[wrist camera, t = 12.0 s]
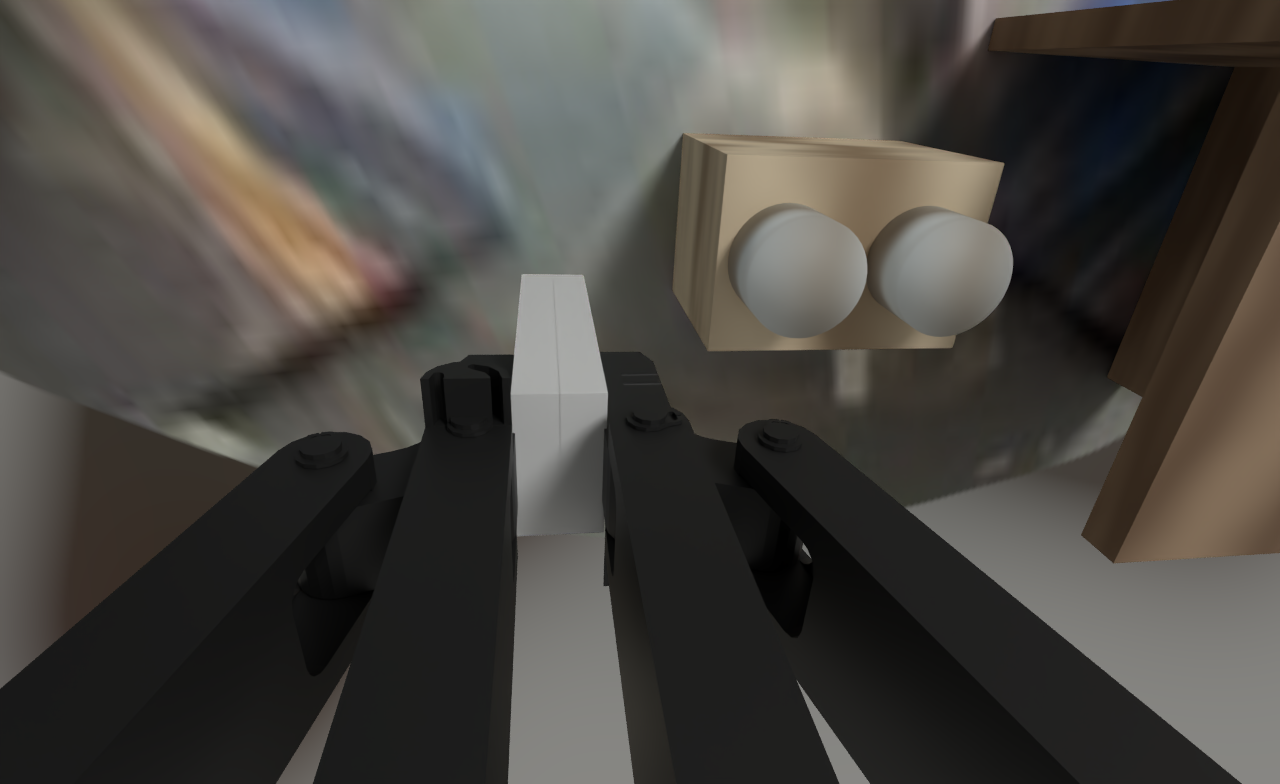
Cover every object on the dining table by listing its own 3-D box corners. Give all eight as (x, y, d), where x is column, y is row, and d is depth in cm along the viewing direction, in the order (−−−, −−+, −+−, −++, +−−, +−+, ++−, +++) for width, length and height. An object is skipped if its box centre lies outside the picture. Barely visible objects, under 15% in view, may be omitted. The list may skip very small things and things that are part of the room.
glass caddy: (671, 289, 31) (724, 380, 22) (682, 133, 28) (749, 165, 19) (868, 289, 32) (991, 374, 24) (899, 140, 29) (1054, 173, 20)
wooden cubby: (902, 380, 35) (1113, 563, 22) (995, 18, 27) (1398, -23, 15) (1129, 377, 37) (1443, 542, 24) (1275, 39, 29) (1843, 19, 17)
